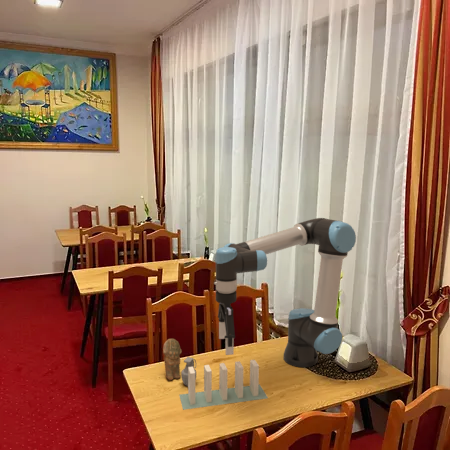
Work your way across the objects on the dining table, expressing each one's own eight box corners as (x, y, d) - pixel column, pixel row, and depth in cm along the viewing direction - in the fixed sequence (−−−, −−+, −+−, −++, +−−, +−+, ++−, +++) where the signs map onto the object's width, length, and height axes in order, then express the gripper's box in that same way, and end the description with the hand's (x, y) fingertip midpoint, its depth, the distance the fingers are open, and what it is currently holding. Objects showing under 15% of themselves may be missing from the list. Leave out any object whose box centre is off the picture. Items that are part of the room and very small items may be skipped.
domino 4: (239, 390, 162) (239, 361, 161) (242, 397, 158) (243, 367, 156) (234, 391, 162) (235, 361, 160) (238, 398, 157) (238, 368, 155)
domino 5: (254, 388, 164) (254, 359, 162) (258, 395, 159) (258, 365, 157) (249, 389, 163) (250, 360, 162) (253, 396, 159) (254, 366, 157)
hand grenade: (192, 390, 163) (191, 363, 162) (178, 387, 166) (178, 361, 164) (199, 382, 169) (199, 356, 168) (186, 379, 171) (186, 354, 170)
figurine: (169, 383, 168) (168, 348, 166) (160, 375, 175) (159, 340, 173) (187, 377, 173) (187, 343, 171) (178, 369, 180) (178, 336, 177)
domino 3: (224, 392, 161) (224, 363, 159) (227, 399, 156) (227, 369, 154) (219, 393, 161) (219, 363, 159) (222, 400, 156) (222, 369, 154)
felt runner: (259, 385, 167) (259, 384, 167) (268, 399, 158) (268, 398, 157) (179, 396, 159) (179, 394, 159) (183, 411, 150) (183, 409, 150)
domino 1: (193, 396, 158) (192, 366, 156) (195, 403, 153) (195, 373, 152) (188, 397, 158) (188, 367, 156) (190, 404, 153) (190, 373, 151)
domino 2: (208, 394, 160) (208, 364, 158) (211, 401, 155) (211, 371, 153) (204, 395, 159) (204, 365, 157) (206, 402, 154) (206, 371, 153)
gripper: (210, 281, 164) (210, 333, 167) (221, 302, 140) (221, 362, 143) (229, 280, 165) (229, 331, 168) (244, 301, 141) (243, 360, 144)
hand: (225, 346), depth 156 cm, fingers open, 13 cm apart
